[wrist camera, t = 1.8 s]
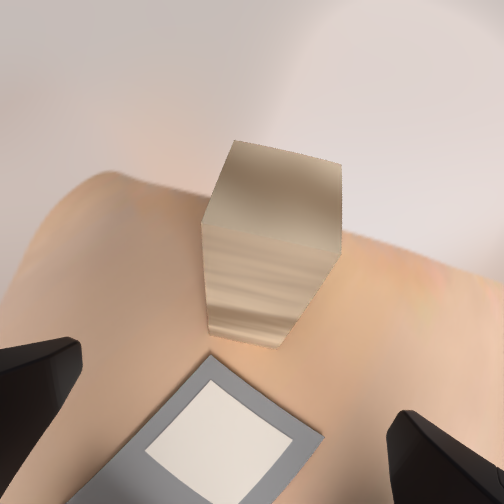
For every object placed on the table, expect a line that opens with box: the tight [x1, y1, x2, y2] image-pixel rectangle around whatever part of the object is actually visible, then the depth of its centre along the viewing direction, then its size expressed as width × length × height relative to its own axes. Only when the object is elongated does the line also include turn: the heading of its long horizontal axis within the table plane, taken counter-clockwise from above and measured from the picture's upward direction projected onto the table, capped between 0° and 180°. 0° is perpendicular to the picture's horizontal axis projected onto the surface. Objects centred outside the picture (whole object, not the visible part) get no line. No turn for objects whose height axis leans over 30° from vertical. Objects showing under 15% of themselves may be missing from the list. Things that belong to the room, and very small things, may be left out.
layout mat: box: [65, 355, 325, 504], centre depth 14 cm, size 10×20×1 cm, turn 142°
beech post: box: [201, 140, 342, 350], centre depth 17 cm, size 5×5×13 cm
